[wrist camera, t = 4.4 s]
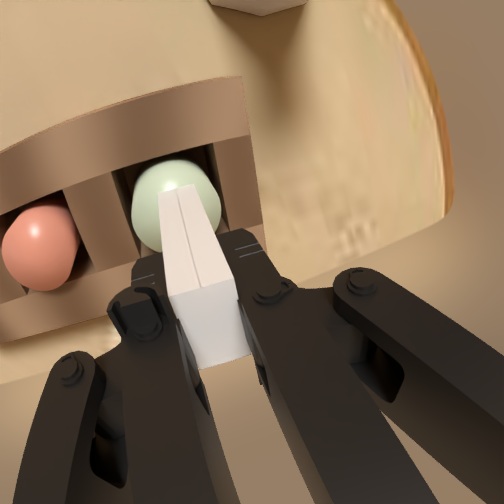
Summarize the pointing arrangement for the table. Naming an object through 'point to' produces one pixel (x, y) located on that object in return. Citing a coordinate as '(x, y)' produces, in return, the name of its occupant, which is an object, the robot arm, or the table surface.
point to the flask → (258, 5)
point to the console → (121, 190)
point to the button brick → (42, 243)
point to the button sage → (163, 179)
